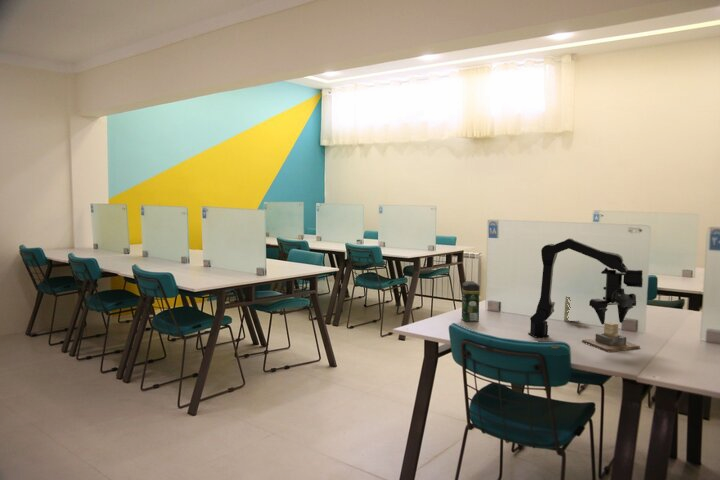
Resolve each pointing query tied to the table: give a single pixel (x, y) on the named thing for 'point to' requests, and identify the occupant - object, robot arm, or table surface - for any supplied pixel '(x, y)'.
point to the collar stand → (611, 343)
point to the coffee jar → (470, 301)
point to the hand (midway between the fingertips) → (611, 323)
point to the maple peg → (610, 329)
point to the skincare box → (566, 308)
